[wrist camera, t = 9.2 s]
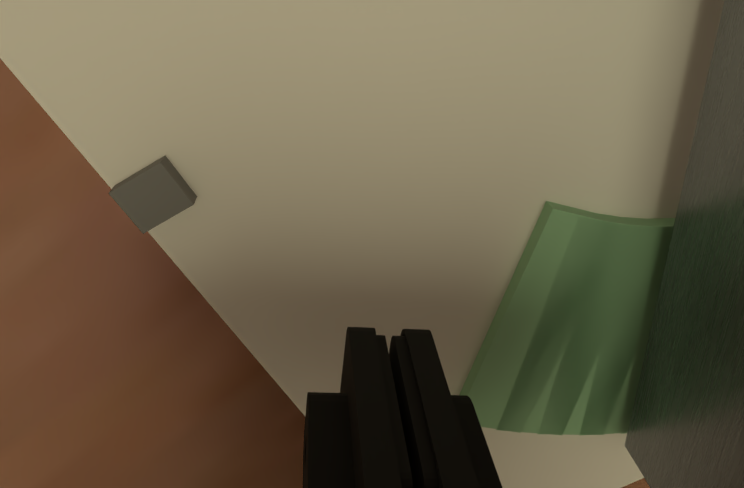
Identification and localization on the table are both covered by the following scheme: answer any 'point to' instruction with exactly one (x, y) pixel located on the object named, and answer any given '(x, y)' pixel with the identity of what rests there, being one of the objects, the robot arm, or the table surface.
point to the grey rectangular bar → (701, 300)
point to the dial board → (403, 184)
